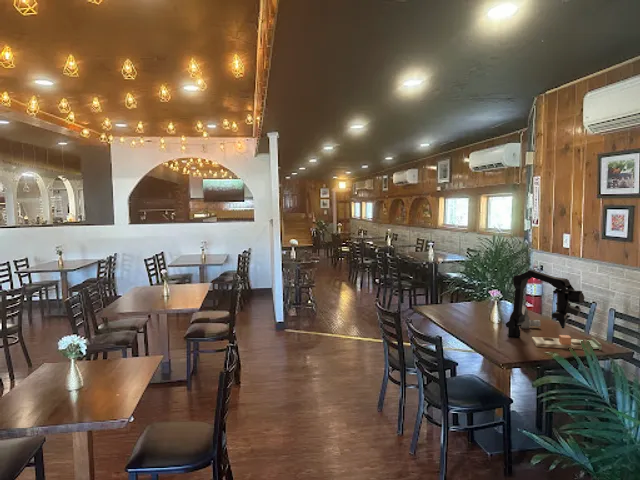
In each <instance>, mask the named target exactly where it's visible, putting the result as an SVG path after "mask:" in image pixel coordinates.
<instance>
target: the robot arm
mask: <svg viewBox="0 0 640 480" xmlns="http://www.w3.org/2000/svg"><path fill="white" fill-rule="evenodd" d="M532 278H533V279H535V280H539V281H541V282H544V283H547V284H550V285H551V286H552V287H553V288H555V289H554V290H553V291H552V293H556V303H555V305H556V310H555V311H554V312H553V313H552V314H551V319H556V320H557V321H558V323H559V326H560V327H561V329H565V328H566V324H567V321H568V319H569V318H570V317H571V315H574V316H576V317H577V316H580V313H581V312H582V309H581V307H580V306H579V305H575V306H574V305H571V303H575V304H583V303H584V301H585V295H584V293H583V290H575V288H574V287H573V285H572V284H571V282H570V280H569V279H568V278H564V277H558V276H557V277H555V276H552V275H549V274H546V273H543V272H540V271H537V270H535V269H529V270H528V271H526V272H523V273H520V274H517V275H514V276H513V277H512V283H513V286H514V296H513V297H514V301H513V307H512V308H513V310H512V313H511V314H510V315H509V320H508V321H507V322H506V323H505V327H506V328H507V335H506V336H507V338H511V339H520V338H521V329H520V328H521V325H522V324H523V323H524V321H525V315H523V313H522V305H524V304H523V302H524V294H525V293H524V292H525V291H524V290H525V288H526V287H527V284H528V281H529V280H530V279H532ZM569 314H571V315H569Z"/></svg>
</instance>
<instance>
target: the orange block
mask: <svg viewBox="0 0 640 480" xmlns="http://www.w3.org/2000/svg"><path fill="white" fill-rule="evenodd" d="M558 338H559V342H560V343H561V344H567V345H571V339H572V336H570V335H569V334H568V335H567V334H559V335H558Z"/></svg>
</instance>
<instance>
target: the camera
mask: <svg viewBox="0 0 640 480" xmlns="http://www.w3.org/2000/svg"><path fill="white" fill-rule="evenodd" d="M522 313H523V315H525V321H524V323H523V324H522V325H521V327H520V328H521V329H530V327H538V328H539V327H541V326H542V325H541V320H540V319H535V320H531V319H530V316H529V315H528V308H527V306H526V305H524V304H522Z"/></svg>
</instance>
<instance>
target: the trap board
mask: <svg viewBox="0 0 640 480" xmlns="http://www.w3.org/2000/svg"><path fill="white" fill-rule="evenodd" d="M590 339H591V340H587V339H586V340H587V341H589V342H590V344H591V346H592V347H593V349H599V350H598V351H602V345H603V344H602V343H600V342H599V341H598V340H597V339H596V338H595V337H591V338H590ZM583 340H584V339H578V338H577V339H576V338H571V345H567V344H561V343H560V342H559V337H558V338H557V337H542V336H541V337H537V336H532V337H531V341H532V342H533V344H534V345H535V347H538V348H555V349H556V348H557V349H568V347H571V348H573V349H572V350H583V349H582V347H581V341H583Z"/></svg>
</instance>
